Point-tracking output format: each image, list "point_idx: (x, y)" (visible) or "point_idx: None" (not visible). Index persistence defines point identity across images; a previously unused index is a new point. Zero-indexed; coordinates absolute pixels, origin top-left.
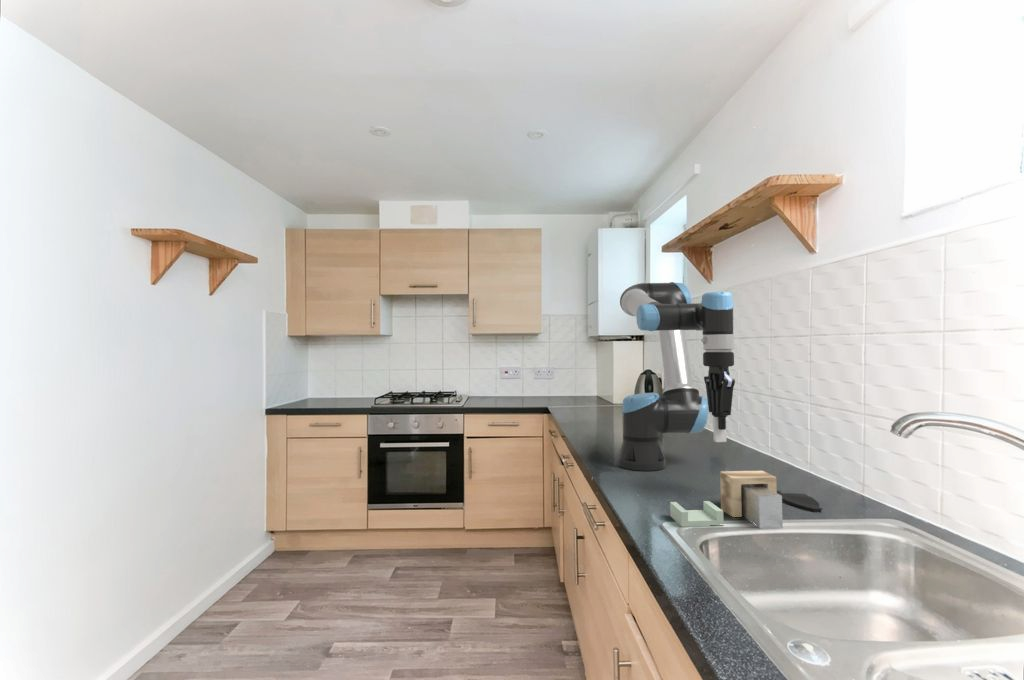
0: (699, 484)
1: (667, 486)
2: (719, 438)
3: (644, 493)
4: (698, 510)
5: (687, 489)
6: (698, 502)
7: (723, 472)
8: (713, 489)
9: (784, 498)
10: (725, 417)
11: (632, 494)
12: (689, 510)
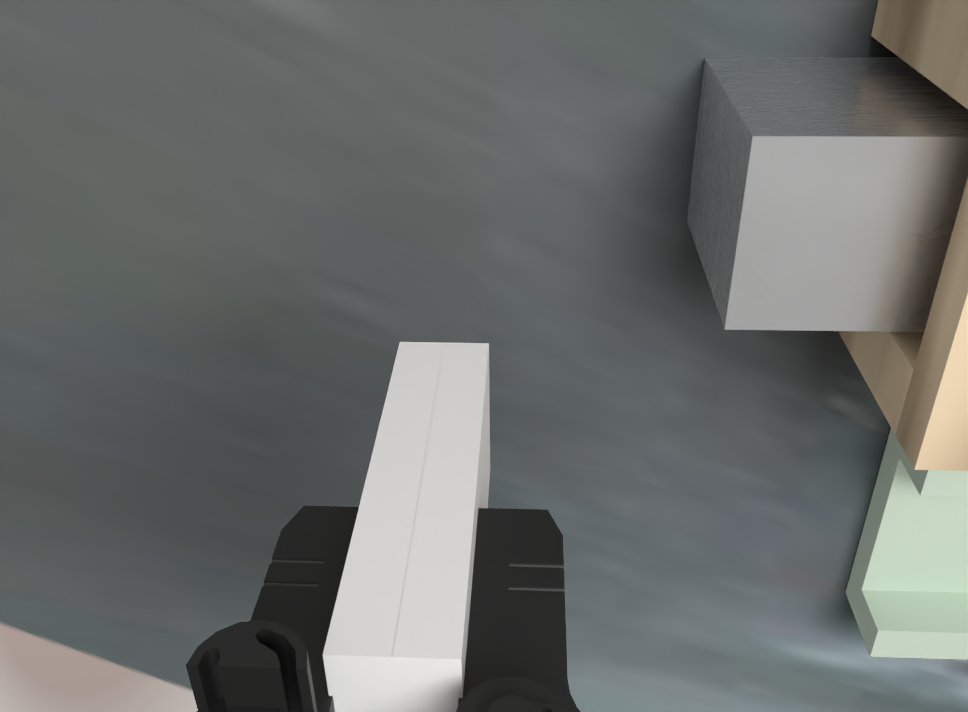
0: (160, 182)
1: (241, 427)
2: (486, 464)
3: None
4: (901, 488)
5: (316, 326)
6: (637, 370)
7: (957, 459)
8: (311, 129)
9: None
10: (572, 706)
11: None
12: (884, 530)
